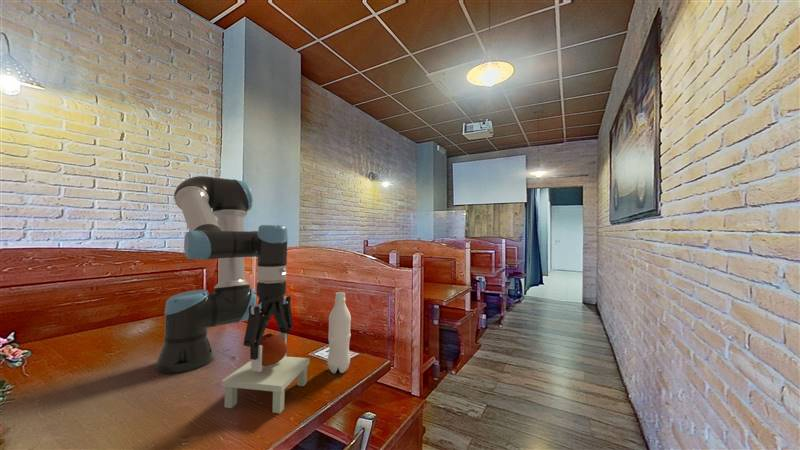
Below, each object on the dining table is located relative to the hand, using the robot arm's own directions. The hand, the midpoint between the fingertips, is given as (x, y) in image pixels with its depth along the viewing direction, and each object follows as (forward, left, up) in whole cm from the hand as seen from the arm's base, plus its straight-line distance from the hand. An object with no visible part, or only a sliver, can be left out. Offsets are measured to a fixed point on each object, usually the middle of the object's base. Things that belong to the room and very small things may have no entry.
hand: (269, 362), depth 82 cm
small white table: (0, 0, -9) cm, 9 cm away
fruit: (0, 0, 0) cm, 0 cm away
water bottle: (+11, +19, -9) cm, 24 cm away
